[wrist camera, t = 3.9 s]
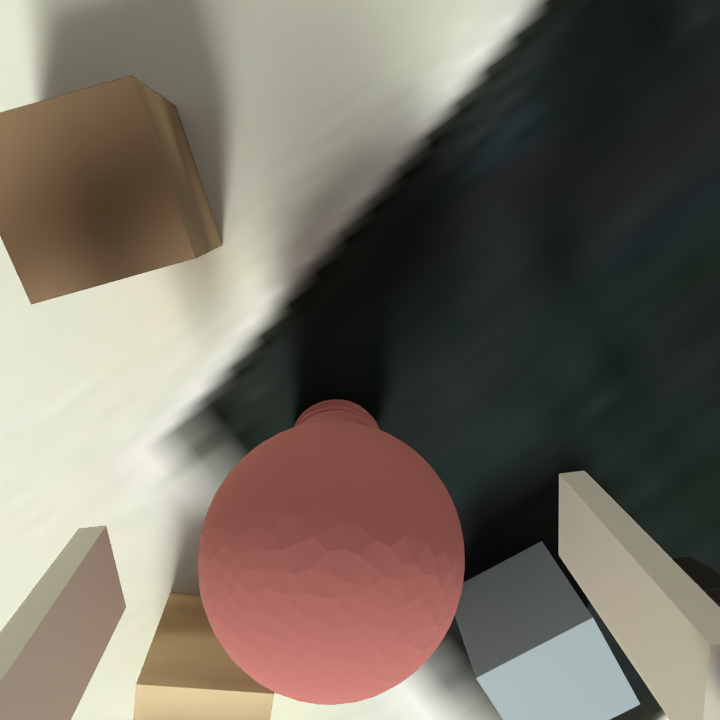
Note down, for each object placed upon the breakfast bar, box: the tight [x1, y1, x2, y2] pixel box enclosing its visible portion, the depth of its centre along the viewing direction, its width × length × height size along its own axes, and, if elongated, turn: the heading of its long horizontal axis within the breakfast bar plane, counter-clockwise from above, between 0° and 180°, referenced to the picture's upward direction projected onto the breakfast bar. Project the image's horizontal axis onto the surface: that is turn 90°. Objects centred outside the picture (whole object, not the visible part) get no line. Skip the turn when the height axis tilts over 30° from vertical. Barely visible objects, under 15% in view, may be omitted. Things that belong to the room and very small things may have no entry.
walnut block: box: [0, 76, 222, 304], centre depth 18 cm, size 5×5×5 cm
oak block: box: [134, 593, 274, 720], centre depth 24 cm, size 5×5×5 cm
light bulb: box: [198, 400, 465, 705], centre depth 18 cm, size 7×7×12 cm
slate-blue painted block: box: [455, 541, 640, 720], centre depth 24 cm, size 5×5×5 cm
